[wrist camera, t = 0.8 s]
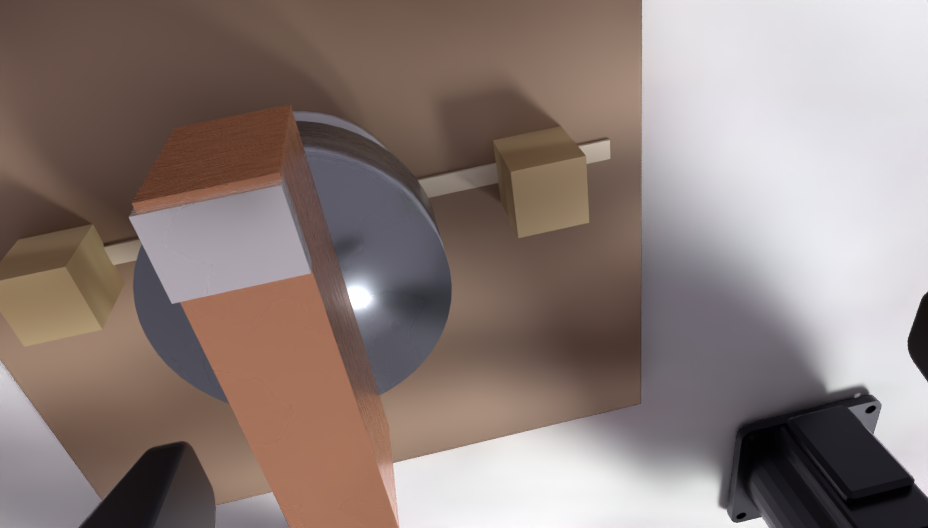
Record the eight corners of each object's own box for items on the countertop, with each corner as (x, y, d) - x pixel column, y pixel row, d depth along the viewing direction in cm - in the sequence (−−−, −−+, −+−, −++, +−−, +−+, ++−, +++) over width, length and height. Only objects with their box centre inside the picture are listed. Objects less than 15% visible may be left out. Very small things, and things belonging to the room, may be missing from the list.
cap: (462, 351, 19) (504, 514, 15) (229, 405, 19) (194, 591, 14) (402, 49, 14) (437, 146, 10) (85, 112, 14) (-43, 246, 9)
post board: (630, 386, 26) (664, 446, 23) (129, 505, 25) (104, 583, 22) (624, -349, 14) (693, -396, 11) (-353, -190, 13) (-534, -201, 10)
